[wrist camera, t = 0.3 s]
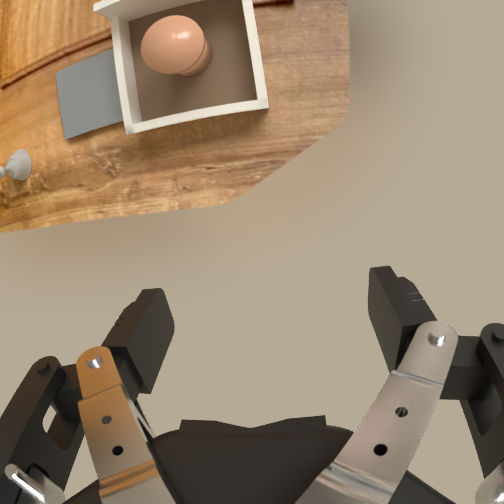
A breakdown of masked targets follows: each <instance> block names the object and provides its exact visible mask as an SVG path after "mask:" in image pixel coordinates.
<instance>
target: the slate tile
mask: <svg viewBox="0 0 504 504" xmlns="http://www.w3.org/2000/svg"><path fill="white" fill-rule="evenodd" d="M56 82H57V91H58V98H59V105H60V112H61V118H62V124H63V130H64V136H65V140H66V139H70V138H73V137H76V136H78V135H81V134H84V133H87V132H90V131H93V130H96V129H99V128H102V127H106V126H109V125H112V124H115V123H119V122H122V121H124V120H123V114H122V108H121V102H120V95H119V89H118V82H117V74H116V67H115V59H114V50H113V48H112V49H109V50H106V51H104V52H101V53H99V54H96V55H94V56H92V57H89V58H87V59H85V60H82V61H80V62H78V63H75V64H73V65H71V66H69V67H67V68H65V69H63V70H61V71H59V72H56Z"/></svg>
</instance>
